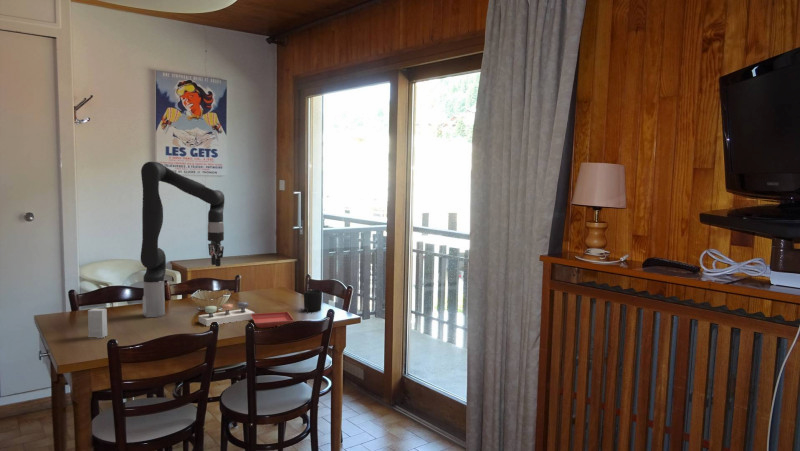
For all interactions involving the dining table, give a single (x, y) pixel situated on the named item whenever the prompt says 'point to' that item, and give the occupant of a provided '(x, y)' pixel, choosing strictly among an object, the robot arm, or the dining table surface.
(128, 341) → the dining table surface
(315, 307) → the pen holder
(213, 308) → the sage button
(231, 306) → the terracotta button
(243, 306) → the charcoal button
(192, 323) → the dining table surface
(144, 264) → the robot arm
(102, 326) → the skincare box
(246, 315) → the button board
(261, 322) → the plant saucer
